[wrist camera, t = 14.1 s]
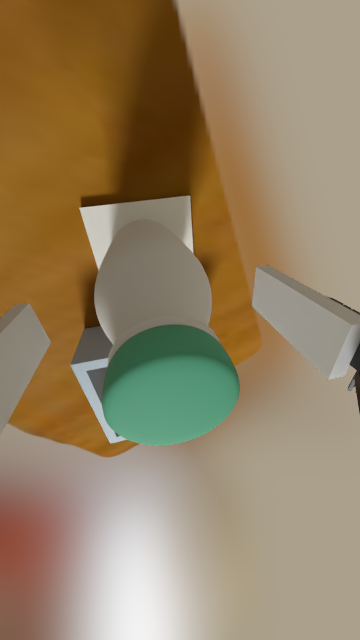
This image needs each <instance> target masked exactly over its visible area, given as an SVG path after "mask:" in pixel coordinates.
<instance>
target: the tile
mask: <svg viewBox="0 0 360 640" xmlns="http://www.w3.org/2000/svg"><path fill="white" fill-rule="evenodd" d="M79 209H80V212H81V215H82V218H83V222H84V225H85V228H86V231H87V234H88V238H89V241H90V244H91V247H92V251H93V254H94V257H95V260H96V264H97V267H98V270H99V269H100V266H101V263H102V261H103V259H104V257H105V255H106V252H107V250H108V248H109V246H110V244H111V242H112V241H113V239H114V237H115V235H116V234H117V233H118V231H119V230H120V229H121V228H122V227H124V226H125V225H126V224H128V223H130V222H133V221H136V220H143V219H146V220H153V221H156V222H159V223H161V224H163V225H164V226H166V227H167V228H168V229H170V230H171V231H172V232H173V233H174V234H175V235H176V236H177V237H178V238H179V239H180V240H181V241H182V242H183V243H184V244H185V245H186V246H187V247H188V248H189V249H190V250H191V251H192V253H193V237H192V220H191V202H190V195H188V196H179V197H171V198H162V199H153V200H144V201H135V202H126V203H117V204H108V205H99V206H91V207H82V208H79Z"/></svg>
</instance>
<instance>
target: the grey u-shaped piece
mask: <svg viewBox="0 0 360 640" xmlns="http://www.w3.org/2000/svg"><path fill="white" fill-rule="evenodd" d="M112 346H113V344H112V342H111V341H110V340H109V338H108V337H107V336H106V334H105V332H104V331H103V329H102V327H101V326H97V327H92V328H86V329H84V331H83V334H82V336H81V339H80V341H79V344H78V347H77V349H76V352H75V355H74V357H73V360H72V362H71V367H72V369H73V371H74V373H75V375H76V377H77V379H78V381H79V383H80V385H81V387H82V389H83V391H84V393H85V395H86V397H87V399H88V401H89V403H90V405H91V406H92V408H93V410H94V412H95V414H96V416H97V418H98V420H99V422H100V424H101V426H102V428H103V430H104V432H105V434H106V436H107V438H108V440H109V442H110V443H115V442H119V441H123V440H127V439H125V438H123V437H122V436H120V435H118V434H117V433H116V432H114V431H113V430H112V429H111V428H110V426H109V425H108V424H107V422H106V420H105V417H104V414H103V409H102V392H103V383H104V378H105V374H106V370H107V361H108V356H109V353H110V350H111V348H112Z"/></svg>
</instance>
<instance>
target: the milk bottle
mask: <svg viewBox="0 0 360 640" xmlns="http://www.w3.org/2000/svg"><path fill="white" fill-rule="evenodd" d="M94 302H95V309H96V314H97V317H98V320H99V322H100V325H101V327H102V329H103V331H104V332H105V334H106V336H107V337H108V338H109V340H110V341H111V342H112V344H113V346H112V348H111V350H110V353H109V356H108V361H107V370H106V374H105V378H104V383H103V392H102V409H103V414H104V417H105V420H106V422H107V424H108V425H109V426H110V428H111V429H112V430H113V431H114V432H116V433H117V434H118V435H120V436H122V437H123V438H125V439H127V440H130V441H132V442H136V443H140V444H145V445H170V444H176V443H181V442H184V441H188V440H191V439H194V438H196V437H199V436H201V435H203V434H205V433H207V432H209V431H210V430H212V429H213V428H215V427H216V426H217V425H219V424H220V423H221V422H222V421H223V420H224V419H225V418H226V417H227V416H228V415H229V413H230V412H231V411H232V409H233V408H234V406H235V404H236V402H237V400H238V396H239V391H240V385H239V379H238V374H237V371H236V369H235V367H234V365H233V363H232V361H231V359H230V357H229V355H228V354H227V352H226V351H225V349H224V348H223V346H222V345H221V344H220V341H219V339H218V337H217V335H216V334H215V333H214V331H213V330H212V329H211V328H209V327H208V324H209V320H210V315H211V309H212V295H211V288H210V284H209V280H208V277H207V275H206V273H205V271H204V268H203V267H202V265H201V263H200V262H199V260H198V259H197V258H196V256H195V255H194V254H193V253H192V251H191V250H190V249H189V248H188V247H187V246H186V245H185V244H184V243H183V242H182V241H181V240H180V239H179V238H178V237H177V236H176V235H175V234H174V233H173V232H172V231H171V230H170V229H168V228H167V227H166V226H164V225H163V224H161V223H159V222H156V221H153V220H146V219H143V220H136V221H133V222H130V223H128V224H126V225H125V226H124V227H122V228H121V229H120V230H119V231H118V233H117V234H116V235H115V237H114V239H113V241H112V242H111V244H110V246H109V248H108V250H107V252H106V255H105V257H104V259H103V261H102V263H101V266H100V269H99V272H98V275H97V278H96V282H95V291H94Z"/></svg>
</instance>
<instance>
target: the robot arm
mask: <svg viewBox="0 0 360 640" xmlns="http://www.w3.org/2000/svg"><path fill="white" fill-rule="evenodd" d="M252 307H253V308H254V309H255V310H256V311H257V312H258V313H260V314H261V315H262V316H263V317H264V318H265V319H266V320H267V321H268V322H269V323H270V324H271V325H272V326H273V327H274V328H275V329H276V330H277V331H278V332H279V333H280V334H281V335H282V336H284V337H285V339H287V340H288V341H289V342H290V343H291V344H292V345H293V346H294V347H295V348H296V349H297V350H298V351H299V352H300V353H301V354H302V355H303V356H304V357H305V358H306V359H307V360H308V361H309V362H310V363H311V364H313V365H314V366H315V367H316V368H317V369H318V370H319V371H320V372H321V373H322V374H323V375H324V376H325V377H326V378H327V379H333V378H337V377H341V376H344V375H345V373H346V372H347V370H348V368H349V366H350V365H351V366H352V367H353V368H355V369H356V370H357V372H356V373H355V375H354V377H353V379H352V381H351V383H350V385H349V387H348V391H351V390H352V388H353V387H355V386H356V393H357V399H358V406H359V412H360V313H359V312H357V311H356V310H354V309H353V310H352V309H351V308H350V307H348V306H346V305H343V304H342V303H341V302H339V301H337V300H335V299H333V298H329V297H326V296H324V295H322V294H320V293H318V292H317V291H315V290H313V289H311V288H309V287H307V286H305V285H304V284H302V283H300V282H298V281H296V280H294V279H293V278H291V277H289V276H287V275H285V274H284V273H281V272H280V271H278V270H276V269H274V268H273V267H271V266H269V265H265V266H258V267H256V273H255V282H254V291H253V300H252ZM50 343H51V341H50V340H49V338H48V336H47V334H46V332H45V331H44V329H43V327H42V325H41V323H40V321H39V320H38V318H37V316H36V314H35V312H34V310H33V309H32V307H31V305H30V303H24V304H18V305H14V306H13V307H12V308H11V309H10V310H9V311H7V312H6V313H5V314H4V315H3V316H2V317H1V318H0V435H1V433H2V431H3V429H4V428H5V426H6V424H7V422H8V420H9V418H10V417H11V415H12V413H13V411H14V409H15V407H16V406H17V404H18V402H19V400H20V398H21V396H22V395H23V393H24V391H25V389H26V387H27V385H28V384H29V382H30V380H31V378H32V376H33V374H34V373H35V371H36V369H37V367H38V365H39V363H40V362H41V360H42V358H43V356H44V354H45V352H46V351H47V349H48V347H49V345H50Z"/></svg>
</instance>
